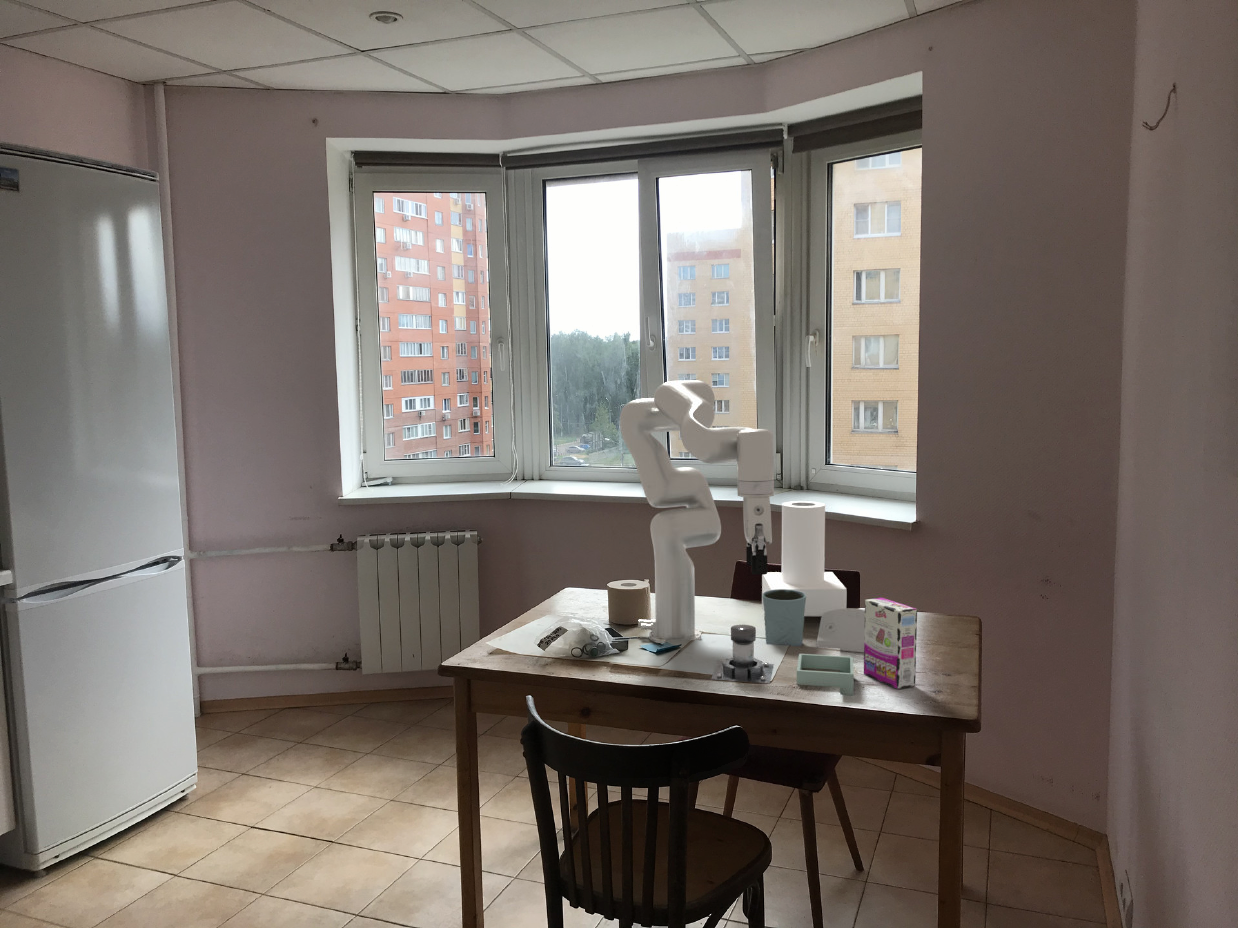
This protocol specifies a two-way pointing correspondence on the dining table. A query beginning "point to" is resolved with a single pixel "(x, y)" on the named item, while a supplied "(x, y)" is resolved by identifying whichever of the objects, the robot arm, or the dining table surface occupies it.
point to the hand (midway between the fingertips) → (756, 569)
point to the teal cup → (784, 616)
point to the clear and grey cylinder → (743, 645)
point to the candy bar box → (890, 642)
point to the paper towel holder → (806, 560)
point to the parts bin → (830, 679)
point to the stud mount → (743, 671)
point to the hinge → (842, 629)
